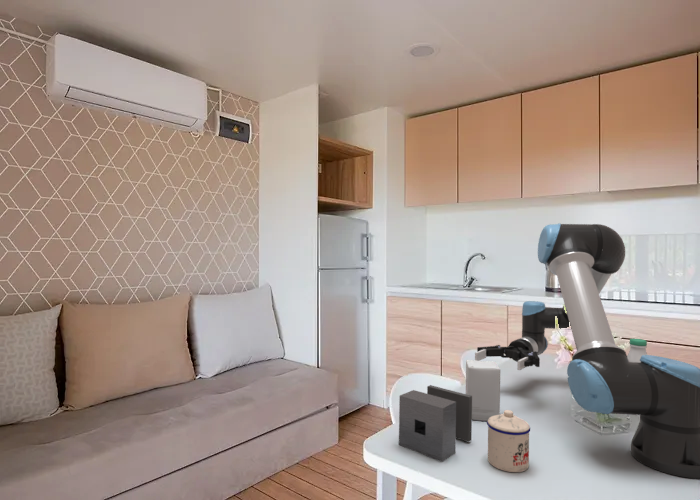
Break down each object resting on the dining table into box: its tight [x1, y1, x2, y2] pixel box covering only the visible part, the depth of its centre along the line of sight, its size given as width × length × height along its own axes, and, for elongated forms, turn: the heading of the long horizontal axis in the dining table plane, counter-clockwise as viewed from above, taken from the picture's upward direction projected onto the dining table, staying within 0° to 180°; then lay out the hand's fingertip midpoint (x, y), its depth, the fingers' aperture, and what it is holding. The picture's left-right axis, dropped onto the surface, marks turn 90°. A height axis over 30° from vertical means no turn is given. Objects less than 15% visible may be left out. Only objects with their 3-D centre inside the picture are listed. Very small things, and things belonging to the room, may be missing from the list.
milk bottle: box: [626, 338, 648, 363], centre depth 137 cm, size 8×8×20 cm
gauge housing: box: [398, 389, 457, 463], centre depth 106 cm, size 15×15×12 cm
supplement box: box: [465, 359, 501, 422], centre depth 123 cm, size 9×9×15 cm
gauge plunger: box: [426, 384, 473, 443], centre depth 107 cm, size 14×10×11 cm, turn 47°
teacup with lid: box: [486, 409, 531, 473], centre depth 96 cm, size 12×9×12 cm
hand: (496, 361), depth 131 cm, fingers open, 13 cm apart
